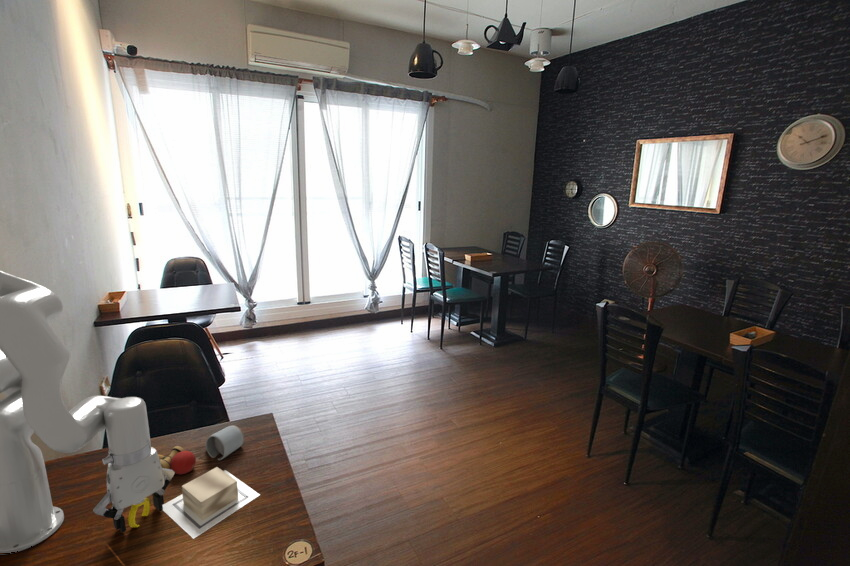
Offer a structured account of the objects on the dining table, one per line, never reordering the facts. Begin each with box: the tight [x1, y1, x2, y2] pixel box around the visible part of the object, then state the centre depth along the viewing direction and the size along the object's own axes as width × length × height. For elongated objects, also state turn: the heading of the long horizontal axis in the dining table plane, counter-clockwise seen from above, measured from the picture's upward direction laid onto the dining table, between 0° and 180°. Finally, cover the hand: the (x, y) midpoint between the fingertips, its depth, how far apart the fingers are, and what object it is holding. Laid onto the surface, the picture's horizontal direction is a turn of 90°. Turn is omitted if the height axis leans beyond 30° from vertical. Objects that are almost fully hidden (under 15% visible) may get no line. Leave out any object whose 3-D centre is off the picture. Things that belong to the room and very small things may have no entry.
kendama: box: [157, 445, 197, 475], centre depth 115 cm, size 8×6×18 cm
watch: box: [127, 497, 151, 528], centre depth 96 cm, size 6×3×6 cm, turn 3°
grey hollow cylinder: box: [205, 424, 245, 461], centre depth 123 cm, size 11×8×8 cm
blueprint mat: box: [162, 469, 261, 540], centre depth 104 cm, size 17×16×1 cm
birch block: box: [181, 466, 238, 520], centre depth 103 cm, size 9×9×5 cm
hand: (140, 518), depth 97 cm, fingers open, 7 cm apart
